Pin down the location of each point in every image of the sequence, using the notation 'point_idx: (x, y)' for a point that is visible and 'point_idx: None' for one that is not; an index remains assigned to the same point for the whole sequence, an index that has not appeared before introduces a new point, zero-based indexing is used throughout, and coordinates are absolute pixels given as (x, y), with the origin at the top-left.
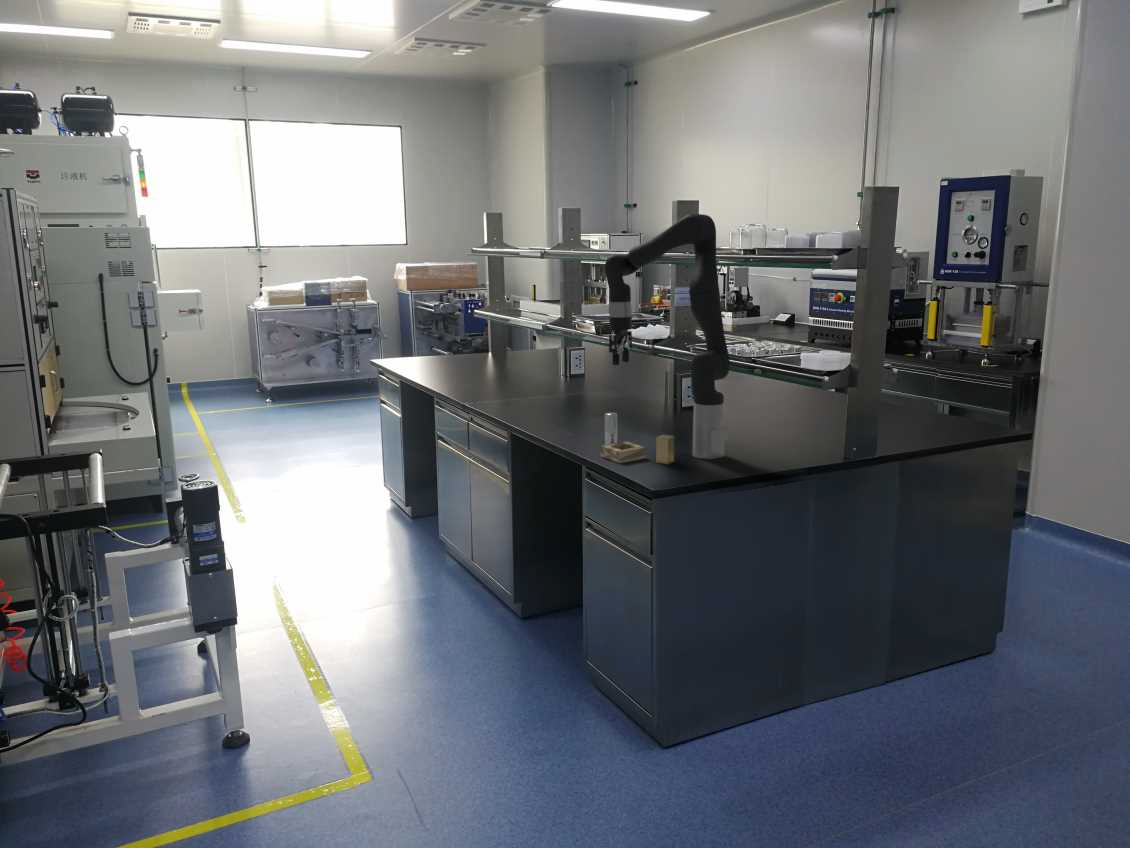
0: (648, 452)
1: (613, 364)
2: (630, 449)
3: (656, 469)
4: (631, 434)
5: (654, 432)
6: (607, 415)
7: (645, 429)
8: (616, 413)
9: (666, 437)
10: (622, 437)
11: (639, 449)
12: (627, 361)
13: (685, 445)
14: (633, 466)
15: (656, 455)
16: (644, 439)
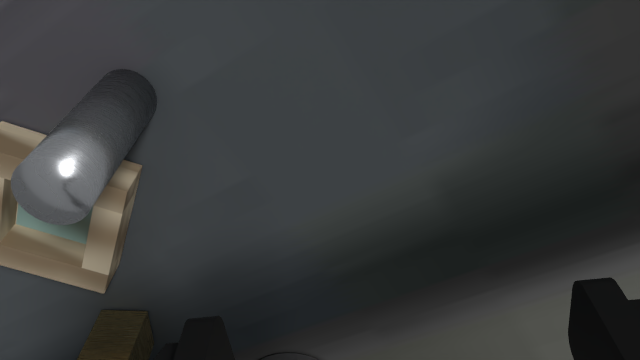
0: (207, 233)
1: (190, 325)
2: (33, 266)
3: (41, 336)
4: (480, 12)
5: (574, 94)
6: (14, 187)
7: (633, 18)
8: (84, 213)
9: None
10: (391, 6)
11: (73, 282)
12: (571, 339)
13: (389, 291)
14: (8, 272)
15: (91, 330)
16: (405, 122)
